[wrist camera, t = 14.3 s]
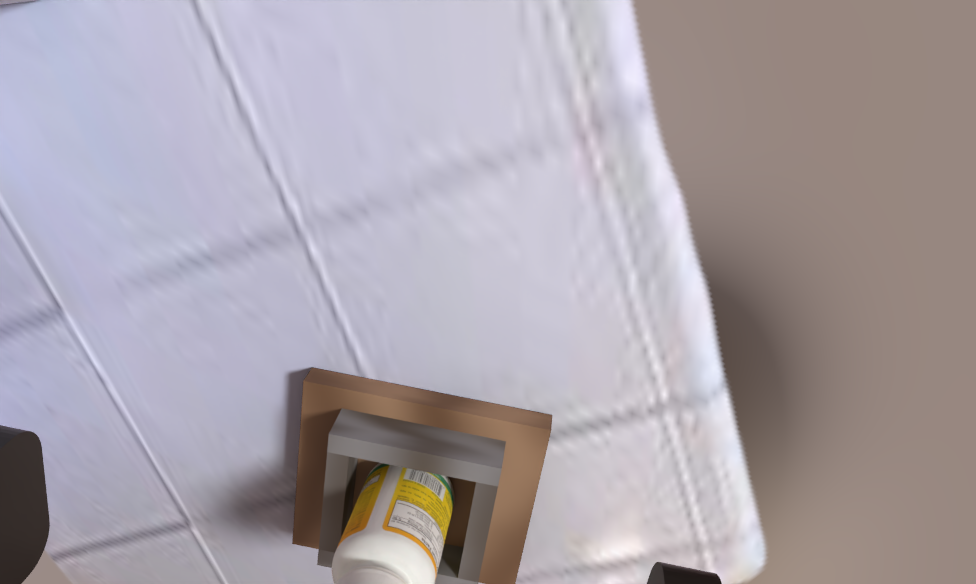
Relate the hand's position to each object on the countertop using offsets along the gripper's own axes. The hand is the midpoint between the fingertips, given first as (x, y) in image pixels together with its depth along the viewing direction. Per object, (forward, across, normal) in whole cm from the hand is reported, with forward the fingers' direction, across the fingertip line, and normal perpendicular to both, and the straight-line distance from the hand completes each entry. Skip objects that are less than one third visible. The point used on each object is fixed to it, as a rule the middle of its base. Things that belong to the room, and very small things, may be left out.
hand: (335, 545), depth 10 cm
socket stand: (+30, +2, +23) cm, 38 cm away
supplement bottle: (+29, +2, +23) cm, 37 cm away
